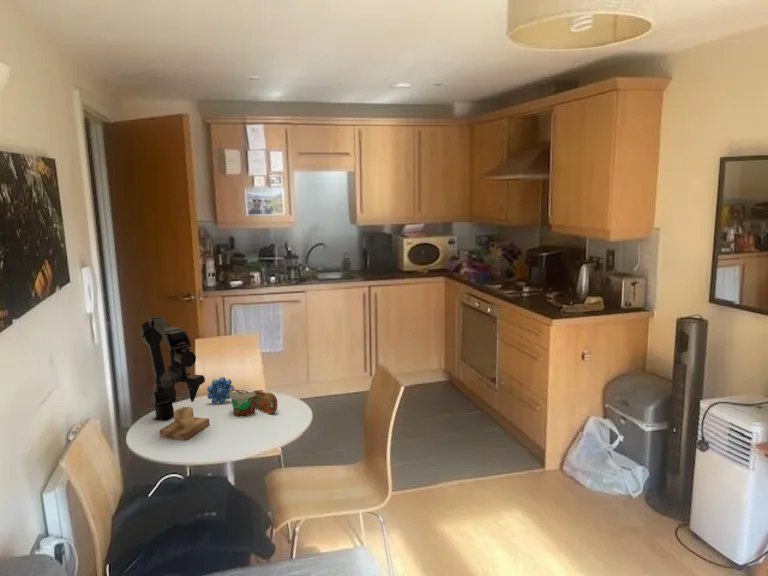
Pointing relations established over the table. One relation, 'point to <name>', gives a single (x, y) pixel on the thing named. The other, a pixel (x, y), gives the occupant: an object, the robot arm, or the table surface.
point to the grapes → (219, 390)
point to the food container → (242, 402)
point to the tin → (265, 401)
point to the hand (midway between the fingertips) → (182, 400)
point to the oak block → (184, 416)
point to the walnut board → (185, 429)
